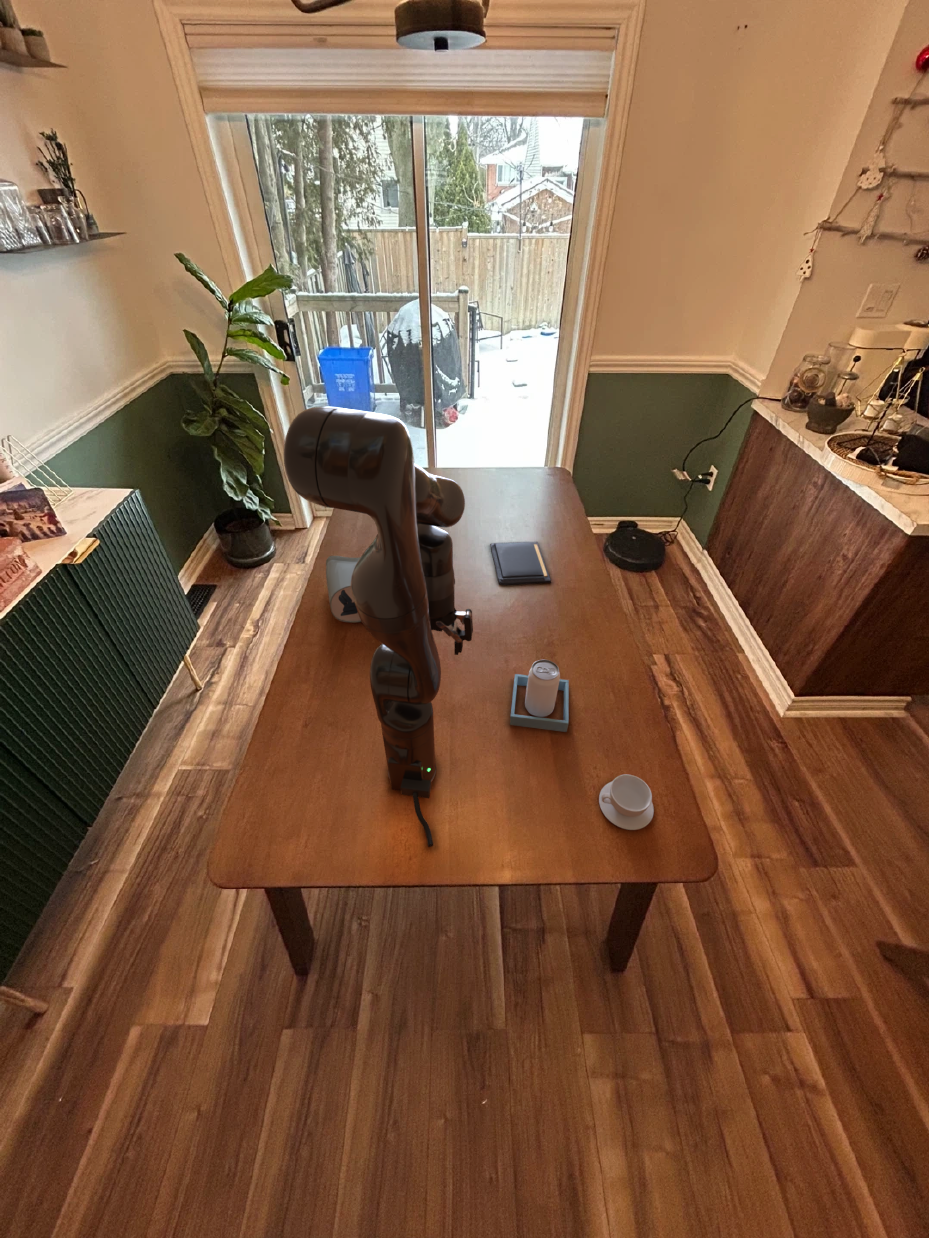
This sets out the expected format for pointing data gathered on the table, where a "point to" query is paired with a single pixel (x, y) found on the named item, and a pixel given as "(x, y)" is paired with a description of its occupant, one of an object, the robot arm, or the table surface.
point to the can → (542, 688)
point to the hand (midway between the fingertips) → (435, 649)
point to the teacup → (627, 802)
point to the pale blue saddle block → (341, 588)
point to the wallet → (519, 563)
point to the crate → (537, 721)
